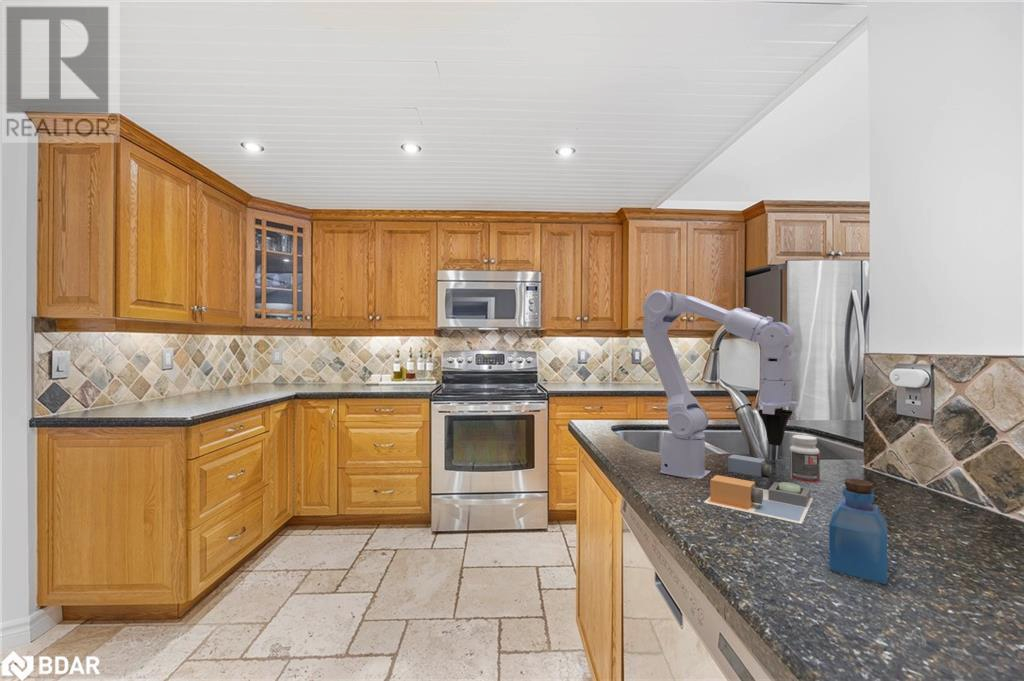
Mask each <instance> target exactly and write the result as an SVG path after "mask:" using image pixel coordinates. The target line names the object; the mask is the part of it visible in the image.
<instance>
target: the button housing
mask: <svg viewBox="0 0 1024 681" xmlns="http://www.w3.org/2000/svg"><path fill="white" fill-rule="evenodd" d="M779 483H780V482H776V481H773V483H772V485H771V486H770V487H769V488H768V489H767V490H768V500H771V501H776V502H781V503H786V504H791V505H796V506H802V507H807V505H808V502H809V500H810V498H811V488H810V487H806V486H801V485H800V494H797V493H792V492H786V491H781V490H779Z"/></svg>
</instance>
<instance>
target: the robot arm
mask: <svg viewBox="0 0 1024 681" xmlns="http://www.w3.org/2000/svg"><path fill="white" fill-rule="evenodd" d="M642 308H643V311H644V312H643V313H644V314H643V326H642V334H643V336H644V337H643V338H644V339H645V342H646V344H647V347H648V350H649V352H650V354H651V357H652V361H653V363H654V366H655V368H656V371H657V374H658V376H659V379H660V382H661V384H662V387H663V389H664V392H665V394H666V397H667V403H666V412H667V416H668V418H667V419H668V420H667V424H668V425H667V426H668V429H669V430H670V432H671V433H665V434H663V436H662V439H661V443H660V444H661V445H660V470H659V473H660V474H664V475H668V476H669V475H670V476H675V477H679V478H684V479H685V478H686V479H689V478H692V479H693V478H694V479H700V480H701V479H703V478H704V477H705V476H707V475H708V474H710V472H711V470H707V469H706V461H705V460H706V450H705V449H706V435H705V432H704V430H706V429H707V427H708V425H709V421H710V420H709V415H708V413H707V412H706V411H705V410H704V409H703V408H702V407H701V405H700V403H699V401H698V399H697V398H696V397H695V396H694V395H693V394H692V393H691V390H690V388H689V386H688V383H687V381H686V378H685V376H684V373H683V371H682V369H681V365H680V363H679V361H678V358H677V356H676V352H675V351H674V348H673V345H672V342H671V340H670V338H669V335H668V331H669V329H670V328H671V326H672V325H673V323H674V322H675V321H676V320H677V319H678V318H680V316H681V315H682V314H685V315H686V314H690V313H691V314H694V315H697V316H700V317H704V318H707V319H708V320H713V321H715V322H718V323H720V324H722V325H723V328H724V329H725V331H726V332H727V333H730V334H732V335H734V336H737V337H740V338H741V339H742V338H743V339H744V340H747V341H749V342H752V343H758V345H759V346H760V359H759V360H760V364H759V366H760V368H759V369H760V373H759V375H760V380H759V387H760V388H759V399H758V404H759V405H760V406H762V409H758V415H759V417H760V418H761V420H762V423H763V425H764V429H765V434H766V437H767V442H768V445H771V446H779V447H780V446H782V444H783V441H784V437H785V432H786V428H787V425H788V422H789V419H790V418H791V417H792V415H793V410H791V409H784V408H788V407H798V406H799V402H798V401H792V398H793V397H792V396H793V395H792V391H793V390H792V389H793V388H792V386H793V385H792V384H793V381H792V379H793V375H792V374H793V357H792V346H791V345H792V344H793V343H794V341H795V337H796V336H795V332H794V329H793V328H792V327H791V326H790V325H788V324H786V323H785V322H783V321H777V322H775V321H773V320H774V317H772V316H769V315H767V316H766V317H765V316H762V315H760V314H758V313H754V312H751V310H752V309H751V308H749V307H744V306H743V307H742V308H740V307H736V308H733V309H730V310H728V309H725V308H723V307H721V306H718V305H716V304H714V303H710V302H709V301H706V300H703V299H701V298H698V297H696V296H692V295H687V294H681V293H678V292H670V291H666V290H663V289H655V290H653V291H651V292H650V293H649V294H648V296H647V297H646V298H645V301H644V303H643V304H642Z"/></svg>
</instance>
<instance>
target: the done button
mask: <svg viewBox="0 0 1024 681" xmlns="http://www.w3.org/2000/svg"><path fill="white" fill-rule="evenodd" d="M778 483H779V490H781V491H786V492H792V493H797V494H800V486H801V485H799V484H797V483H793V482H787V481H786V482H785V481H782V482H778Z"/></svg>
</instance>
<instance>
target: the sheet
mask: <svg viewBox="0 0 1024 681" xmlns="http://www.w3.org/2000/svg"><path fill="white" fill-rule="evenodd" d="M755 488H756V489H761V490H763V502H762V504H758V503H754V505H753V506H752V507H751V509H749V508H744V507H739V506H734V505H730V504H725V503H720V502H715V501H711V500H710V496H708V498H707V499H706V500H704V501H703V504H707V505H711V506H716V507H722V508H725V509H726V508H727V509H731V510H736V511H739V512H744V513H745V512H746V513H749V514H753V515H758V516H762V517H766V518H767V517H768V518H771V519H772V518H773V519H776V520H781V521H785V522H790V523H795V524H799V525H802V524H803V522H804V520H805V518H806V515H807V513H808V510H809V508H810V506H811V504H812V502H813V500H814V498H813V497H810V500H809V502H808V505H807V507H802V506H796V505H791V504H786V503H781V502H776V501H771V500H768V490H769V489H764V488H759V487H755Z"/></svg>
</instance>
